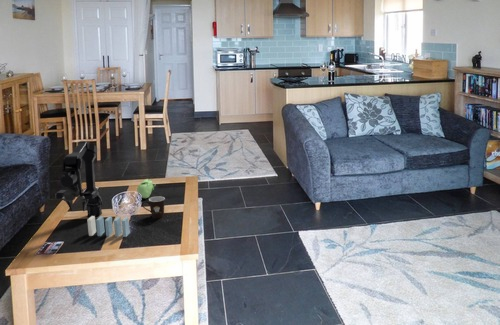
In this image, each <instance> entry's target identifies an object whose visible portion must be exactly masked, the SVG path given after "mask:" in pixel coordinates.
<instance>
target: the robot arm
mask: <svg viewBox="0 0 500 325" xmlns="http://www.w3.org/2000/svg"><path fill="white" fill-rule="evenodd" d="M97 153H98V147H97V145H95V144H94V143H91V142H89V141H87V140H86V141H84V140H83V141H77V144H76V146H75V148H74V149H73V151H72V152H71V153H68V154H67V155H65V157H64V158H63V161H62V169H61V172H63V176H62V177H61V178H60V184H61V185H62V186H63V187H64V188H66V189H60V190H58V191H57V192H56V193H55V199H59V200H60V199H61V200H62V201H64V202H65V203H66V204H67V206H68V208H69V210H70V211H71V212H73V210H74V202H73V201H75V200H76V198H80V197H81V198H82V199H81V200H80V201H81V203H82V211H83V212H85V211H87V215H86V218H90V217H91V216H95V218H99V217H100V216H102V214H103V211H102V206H103V198H102V197H101V195H100V192H99V190H98V188H96V177H95V176H96V175H95V160H96V158H97V157H98V156H97ZM83 162H84V174H85V175H84V176H85V187H86V188H85V191H84V188H83V185H82V184H83V181H82V178H81V170H82V165H83Z"/></svg>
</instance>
